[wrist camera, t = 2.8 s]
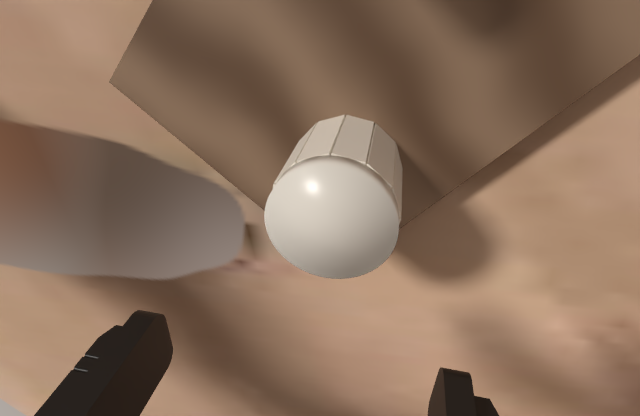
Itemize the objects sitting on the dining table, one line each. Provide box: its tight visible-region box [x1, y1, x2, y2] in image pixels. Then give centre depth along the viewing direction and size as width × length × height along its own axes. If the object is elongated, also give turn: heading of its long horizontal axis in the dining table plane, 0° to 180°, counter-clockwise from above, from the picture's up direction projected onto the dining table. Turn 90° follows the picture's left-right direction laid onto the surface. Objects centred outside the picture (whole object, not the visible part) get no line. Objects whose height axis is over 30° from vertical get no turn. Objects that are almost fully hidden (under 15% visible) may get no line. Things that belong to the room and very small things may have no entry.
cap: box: [264, 115, 403, 279], centre depth 20 cm, size 6×6×6 cm
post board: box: [109, 0, 640, 229], centre depth 17 cm, size 22×18×8 cm
